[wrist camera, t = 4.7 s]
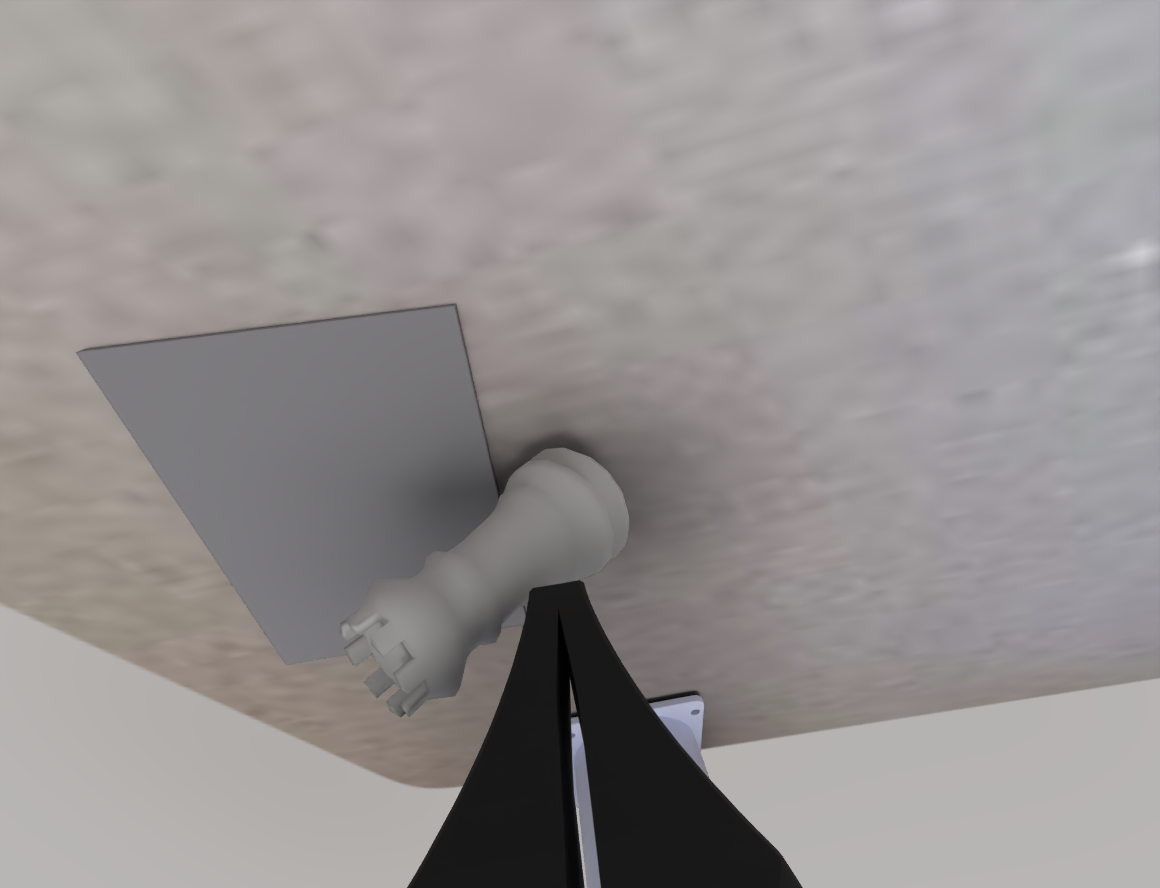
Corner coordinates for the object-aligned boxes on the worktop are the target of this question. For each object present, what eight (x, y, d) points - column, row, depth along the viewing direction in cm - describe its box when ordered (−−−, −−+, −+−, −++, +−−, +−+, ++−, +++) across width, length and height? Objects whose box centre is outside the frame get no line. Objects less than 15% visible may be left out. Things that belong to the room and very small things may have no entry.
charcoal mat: (526, 618, 20) (526, 623, 20) (288, 659, 19) (286, 665, 19) (455, 303, 13) (454, 305, 13) (84, 349, 13) (75, 352, 12)
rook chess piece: (568, 415, 14) (326, 547, 8) (663, 519, 14) (472, 740, 8) (514, 486, 17) (305, 620, 11) (590, 574, 17) (411, 765, 11)
